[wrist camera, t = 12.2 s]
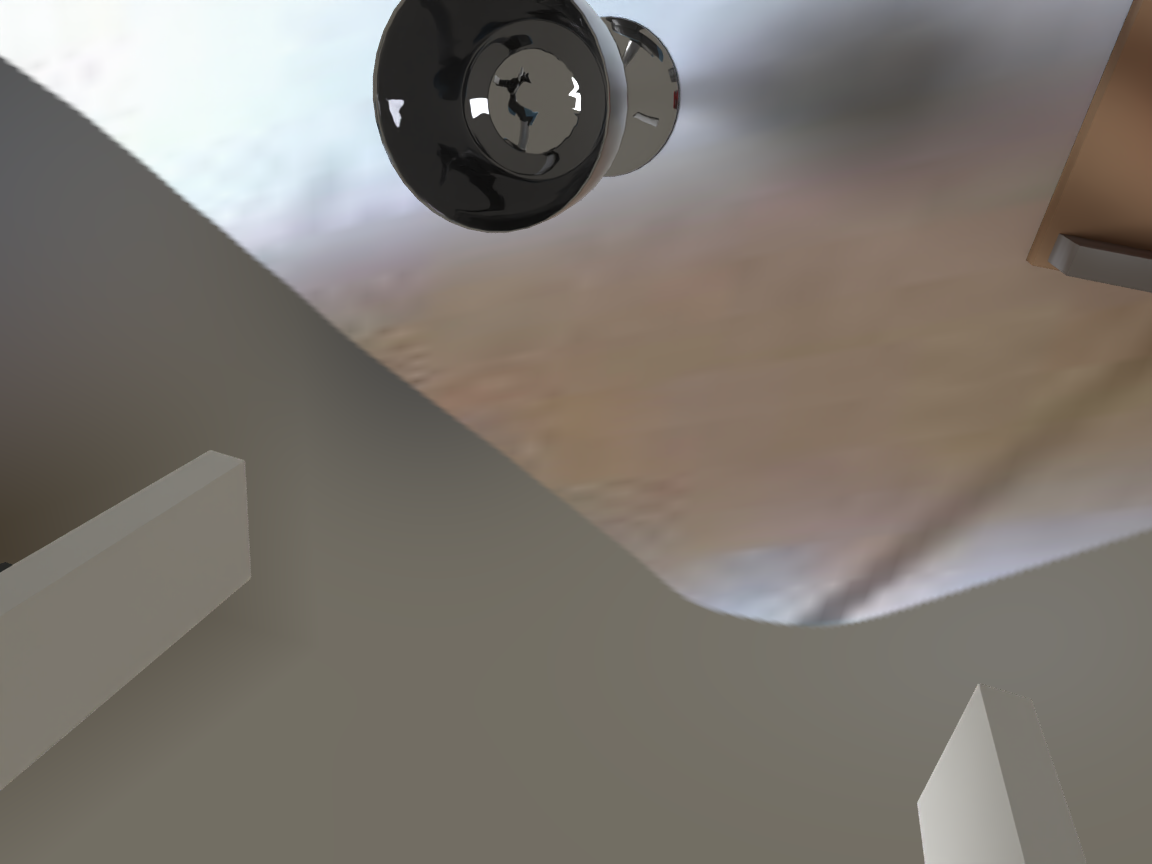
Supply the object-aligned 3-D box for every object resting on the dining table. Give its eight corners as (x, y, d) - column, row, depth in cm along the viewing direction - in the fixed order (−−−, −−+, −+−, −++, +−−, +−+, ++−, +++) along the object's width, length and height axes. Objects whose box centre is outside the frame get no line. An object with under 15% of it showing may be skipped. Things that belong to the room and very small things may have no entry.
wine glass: (591, 217, 40) (474, 280, 26) (497, 84, 38) (326, 80, 25) (720, 116, 36) (660, 130, 23) (622, -35, 35) (499, -112, 21)
